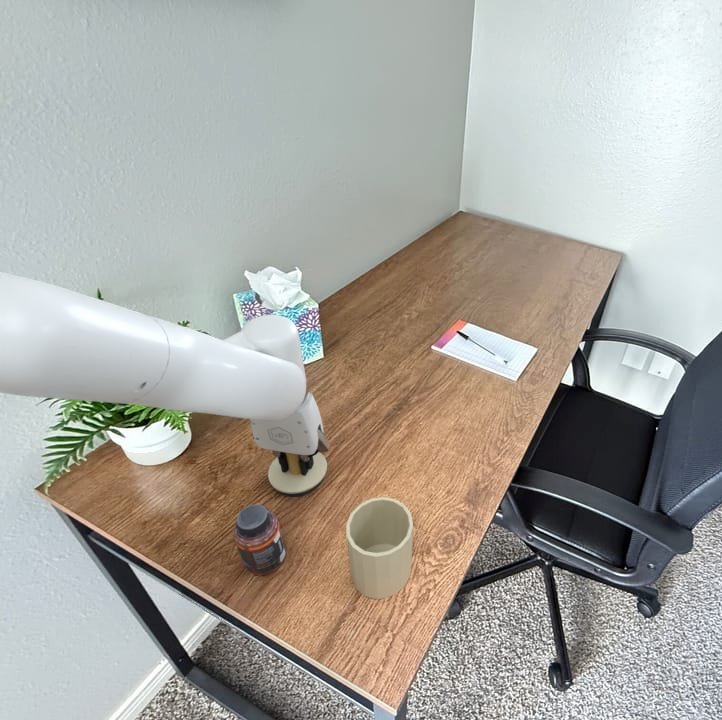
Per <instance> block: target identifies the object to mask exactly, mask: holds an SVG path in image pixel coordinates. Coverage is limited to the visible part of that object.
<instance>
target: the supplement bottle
mask: <svg viewBox="0 0 722 720" xmlns="http://www.w3.org/2000/svg"><path fill="white" fill-rule="evenodd" d="M232 531H233V532H232V536H233V541H234V543H235V545H236V548H237V550H238V552H239V555H240V557H241V560H242V563H243V564H244V567H245V568H246V570H247V572H248V573H250V574H251V575H254V576H259V577H261V576H262V577H263V576H266V575H267V576H268V575H270V574H272V573H274V572H275V571H277V570H278V569H279V568H281V566H282V565H283V563H284V562H285V560H286V557H287V547H286V543H285V540H284V536H283V533H282V529H281V526H280V523H279V519H278V517H277V515H276V514H275V513H273V511H271V510H269V509H267V508H266V507H265V506H264V505H262V504H256V503H255V504H250V505H248V506H246V507H244V508H242V509H241V510H240V511H239V513H238V514H237V516H236V523H235V524H234V526H233V530H232Z"/></svg>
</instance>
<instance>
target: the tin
mask: <svg viewBox="0 0 722 720" xmlns="http://www.w3.org/2000/svg"><path fill="white" fill-rule="evenodd" d="M345 534H346V535H345V536H346V537H345V538H346V544H347V545H346V546H347V552H348V561H349V568H350V569H349V570H350V577H351V581H352V584H353V586H354V588H355V590H357V592H359V594H361V595H363V596H364V597H366V598H369V599H373V600H383V599H387V598H391V597H393V596H395V595H396V594H398V593H399V592H400V591H402V590H403V589H404V587H405V586H406V585H407V583H408V581H409V579H410V576H411V571H412V566H413V565H412V564H413V563H412V562H413V539H414V538H413V537H414V524H413V515H412V513H411V512H410V510H409V508H408V507H407V506H406V504H404V503H402V502H400V501H399V500H397V498H391V497H386V496H380V497H371V498H369V499H368V500H365V501H364V502H362V503H359V504H358V505H357V507H355V508H354V509H353V511H351V512H350V515H349V517H348V519H347V521H346V524H345Z"/></svg>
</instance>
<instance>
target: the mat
mask: <svg viewBox="0 0 722 720" xmlns="http://www.w3.org/2000/svg"><path fill="white" fill-rule="evenodd" d="M325 476H326V475H325ZM325 476H324V478H323V479H322V480H321V482H320V483H319V484H317V485H316V486H315V487H313V488H311V489H310V490H307V491H305V492H301V493H295V494H288V493H283V492H280V491H278V490H276V489H275V488H274V487H273V489H274V490H275V491H276V492H277V493H278V494H279V495H282V496H284V497H288V498H298V497H299V498H300V497H303V496H307V495H309V494H310V493H312V492H314V491H315V490H317V489H318V488H319V487H320V486H321V484H322V483H323V481H324V480H325Z"/></svg>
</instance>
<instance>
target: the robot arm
mask: <svg viewBox="0 0 722 720" xmlns="http://www.w3.org/2000/svg"><path fill="white" fill-rule="evenodd" d="M306 376H307V375H306V370H305V364H304V357H303V351H302V346H301V339H300V333H299V330H298V327H297V325H296V324H295V322H294V321H293V320H292V319H290V318H288V317H286V316H283V315H279V314H265V315H260V316H257V317H254V318H252V319H249V321H247V322H246V323H245V324H243V326H242V327H241V328H240V331H238V332H236V333H234V334H233V335H230V336H228V337H226V338H224V339H220V338H217V337H214V336H212V335H210V334H207V333H204V332H202V331H198V330H196V329H193V328H190V327H187V326H184V325H181V324H177V323H174V322H172V321H168V320H165V319H162V318H160V317H155V316H152V315H149V314H145V313H143V312H140V311H136V310H134V309H130V308H127V307H124V306H121V305H118V304H115V303H112V302H108V301H106V300H103V299H100V298H96V297H93V296H90V295H87V294H84V293H81V292H78V291H75V290H72V289H69V288H65V287H63V286H60V285H56V284H52V283H49V282H46V281H42V280H37V279H34V278H30V277H25V276H20V275H17V274H12V273H8V272H4V271H0V393H1V394H7V395H13V396H22V397H30V398H43V399H44V398H45V399H57V400H69V401H70V400H71V401H84V402H97V403H111V404H121V405H122V404H123V405H125V404H126V405H133V406H141V407H142V406H143V407H151V408H157V409H161V410H169V411H170V410H171V411H177V412H186V413H198V414H207V415H216V416H223V417H231V418H237V419H246V420H250V427H251V432H252V439H253V440H254V443H255V444H256V446H257V447H259V448H261V449H264V450H269V451H272V454H273V456H274V457H275V458H277V457H278V461H279V464H280V465H281V469H282V472H284V473H286V472H287V471H288V469H289V466H288V462H287V458H286V453H293V454H300V456H301V458H300V460H299V465H300V470H301V474H302V475H303V476H306V474H307V472H308V470H309V469H312V467H313V464H314V461H313V456H314V455H316V454H317V453H319V452H320V453H321V454H323V453H326V452H329V450H330V448H331V446H332V443H331V442H330V441H329V439H327V437H326V436H325V434H324V433H325V432H324V425H323V420H322V416H321V413H320V409H319V406H318V404H317V402H316V399H315V397H314V396H313V393H311V392H309V387H308V382H307V377H306ZM285 452H286V453H285Z"/></svg>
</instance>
